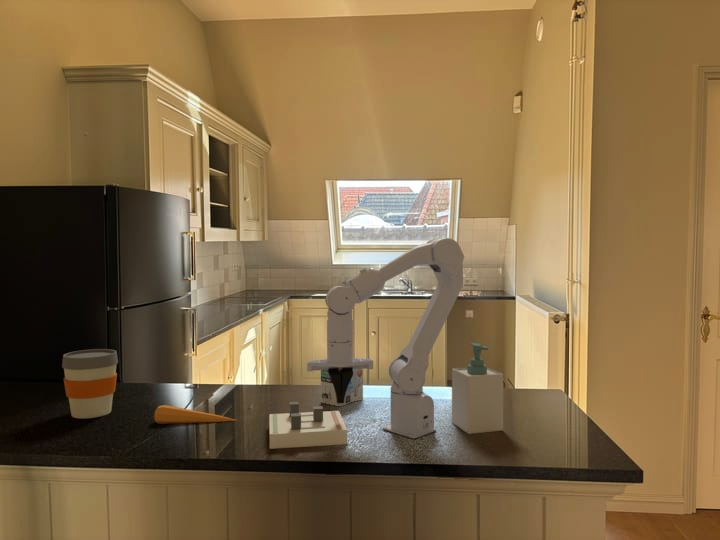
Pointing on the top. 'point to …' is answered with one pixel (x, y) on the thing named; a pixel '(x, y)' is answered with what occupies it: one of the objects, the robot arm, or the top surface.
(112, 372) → the reusable coffee cup
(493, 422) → the soap bottle
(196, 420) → the carrot
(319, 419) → the block
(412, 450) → the top surface
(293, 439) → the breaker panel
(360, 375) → the light bulb box
